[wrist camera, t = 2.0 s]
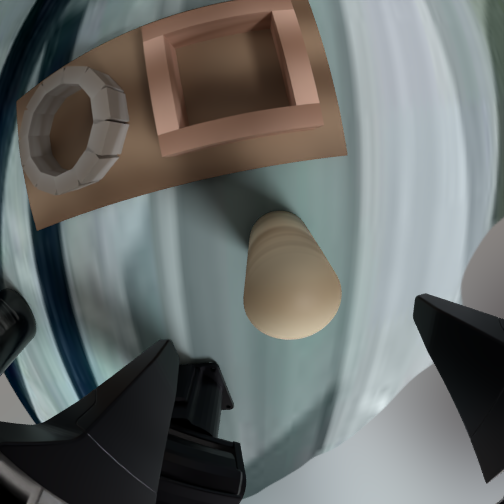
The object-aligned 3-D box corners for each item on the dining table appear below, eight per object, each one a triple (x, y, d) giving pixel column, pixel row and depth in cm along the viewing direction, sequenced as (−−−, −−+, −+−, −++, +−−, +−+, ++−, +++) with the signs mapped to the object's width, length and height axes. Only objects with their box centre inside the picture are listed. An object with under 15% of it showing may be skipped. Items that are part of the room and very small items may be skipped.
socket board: (341, 155, 16) (362, 155, 13) (45, 226, 18) (18, 240, 15) (302, 1, 12) (311, -26, 9) (25, 101, 14) (-3, 100, 11)
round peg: (311, 262, 19) (342, 330, 11) (255, 272, 19) (253, 345, 12) (304, 206, 17) (338, 245, 10) (244, 216, 18) (233, 263, 10)
